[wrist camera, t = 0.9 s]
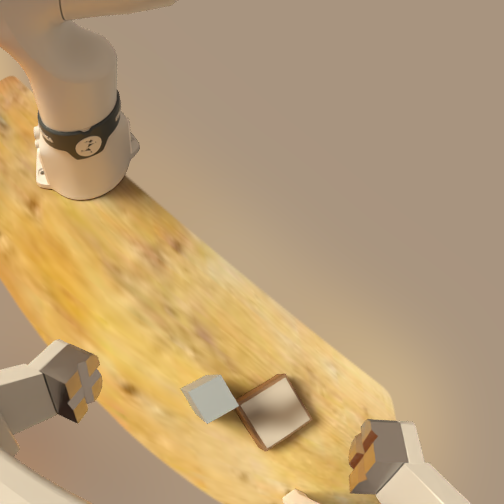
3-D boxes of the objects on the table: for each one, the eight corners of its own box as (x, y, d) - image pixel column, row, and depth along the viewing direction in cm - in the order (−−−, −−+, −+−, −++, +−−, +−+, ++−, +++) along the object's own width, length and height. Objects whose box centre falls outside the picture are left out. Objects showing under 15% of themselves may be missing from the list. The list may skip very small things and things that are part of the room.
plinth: (230, 402, 41) (236, 404, 38) (277, 374, 45) (286, 373, 42) (258, 447, 40) (266, 452, 37) (303, 417, 43) (313, 419, 40)
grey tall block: (180, 388, 40) (188, 392, 31) (205, 375, 42) (220, 374, 33) (195, 413, 39) (207, 423, 30) (220, 399, 41) (239, 405, 32)
